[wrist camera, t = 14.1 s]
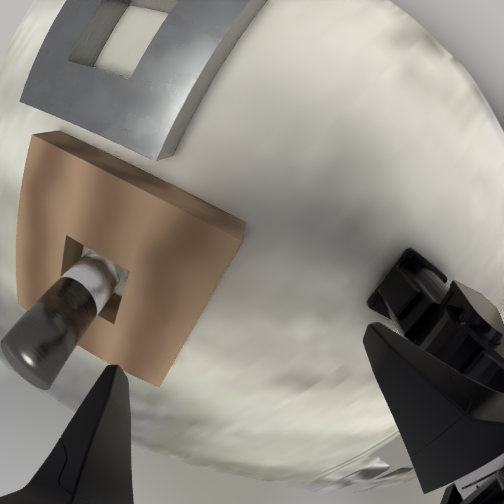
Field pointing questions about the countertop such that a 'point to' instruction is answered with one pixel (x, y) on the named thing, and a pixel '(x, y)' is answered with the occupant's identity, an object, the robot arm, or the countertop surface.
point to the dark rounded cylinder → (61, 319)
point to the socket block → (145, 75)
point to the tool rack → (121, 248)
